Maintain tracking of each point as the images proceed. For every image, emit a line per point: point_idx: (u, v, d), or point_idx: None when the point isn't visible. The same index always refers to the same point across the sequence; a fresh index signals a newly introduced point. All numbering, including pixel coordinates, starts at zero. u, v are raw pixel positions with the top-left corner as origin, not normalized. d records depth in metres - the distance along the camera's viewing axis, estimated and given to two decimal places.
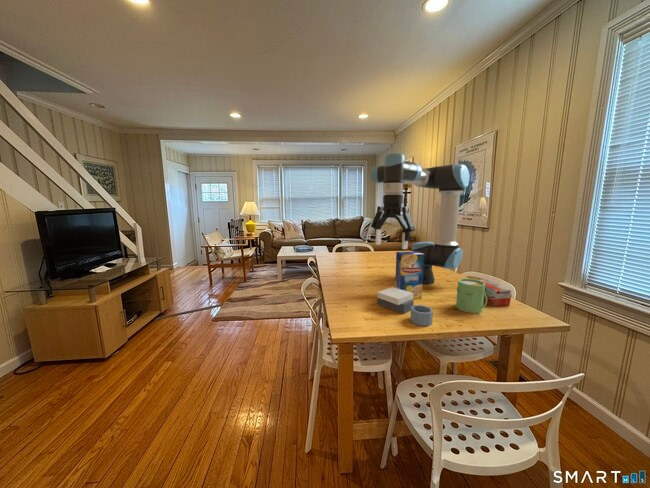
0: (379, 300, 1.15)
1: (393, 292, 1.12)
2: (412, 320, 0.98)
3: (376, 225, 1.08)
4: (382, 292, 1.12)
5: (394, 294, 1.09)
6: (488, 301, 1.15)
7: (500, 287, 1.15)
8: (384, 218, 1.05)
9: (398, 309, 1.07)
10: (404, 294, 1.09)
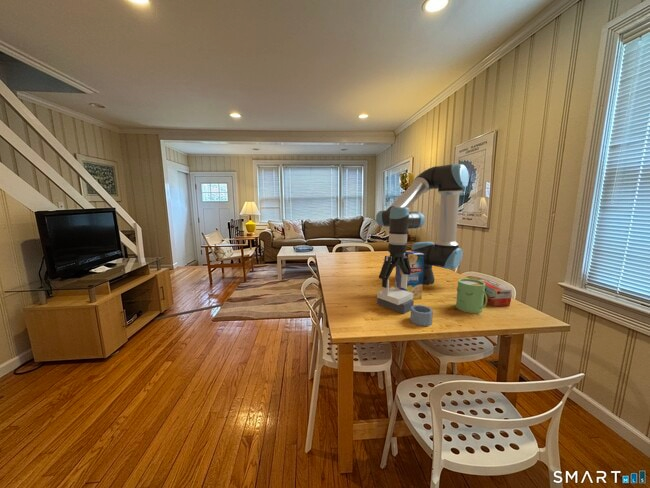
0: (379, 300, 1.15)
1: (393, 292, 1.12)
2: (412, 320, 0.98)
3: None
4: None
5: (394, 294, 1.09)
6: (488, 301, 1.15)
7: (500, 287, 1.15)
8: (399, 264, 1.12)
9: (398, 309, 1.07)
10: (404, 294, 1.09)
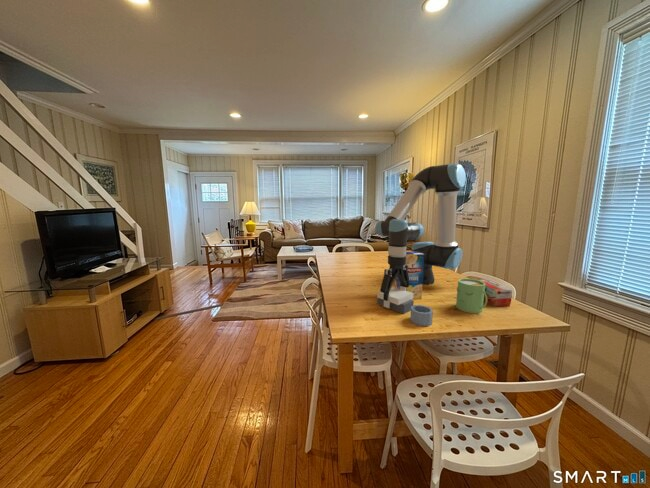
0: (379, 300, 1.15)
1: (393, 292, 1.12)
2: (412, 320, 0.98)
3: None
4: (382, 292, 1.12)
5: (394, 294, 1.09)
6: (489, 301, 1.15)
7: (501, 287, 1.15)
8: (398, 276, 1.13)
9: (398, 309, 1.07)
10: (404, 294, 1.09)
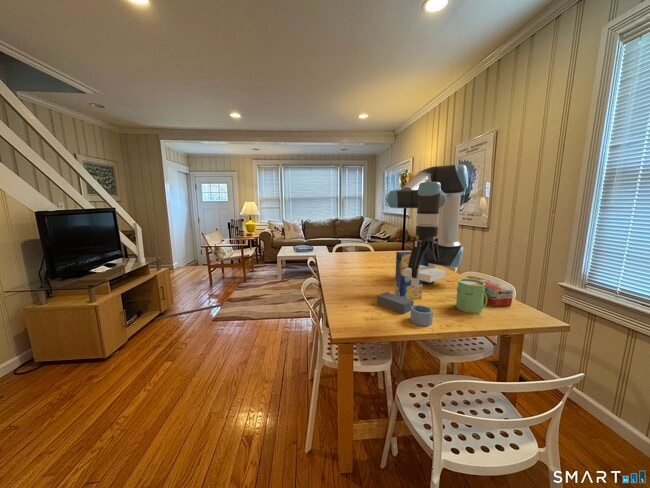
0: (379, 300, 1.15)
1: (422, 269, 0.95)
2: (412, 320, 0.98)
3: None
4: (409, 269, 0.96)
5: (424, 271, 0.93)
6: (489, 301, 1.15)
7: (501, 287, 1.14)
8: (427, 250, 0.97)
9: (398, 309, 1.07)
10: (435, 271, 0.93)
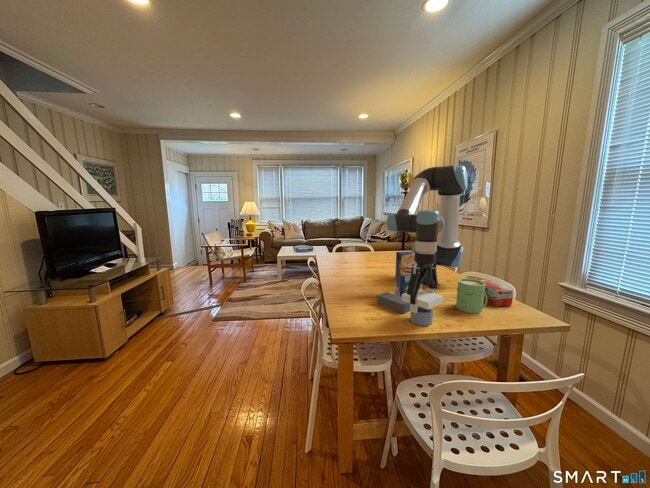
0: (379, 300, 1.15)
1: (420, 295, 0.97)
2: (412, 320, 0.98)
3: None
4: (407, 294, 0.97)
5: (422, 297, 0.95)
6: (490, 301, 1.15)
7: (502, 287, 1.14)
8: (426, 276, 0.98)
9: (398, 309, 1.07)
10: (434, 297, 0.94)
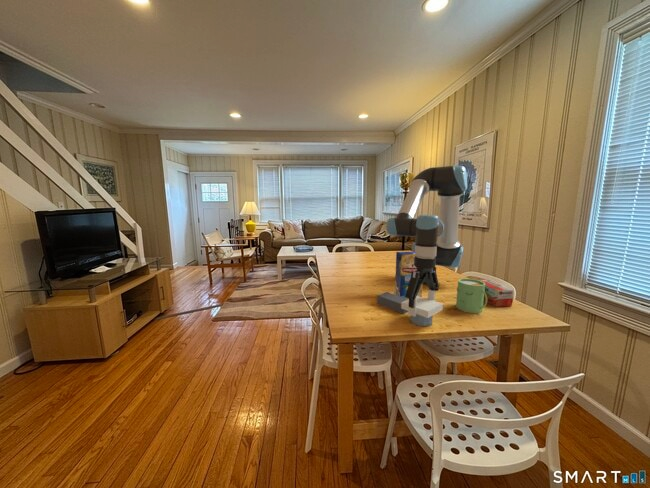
0: (379, 300, 1.15)
1: (420, 303, 0.98)
2: (412, 320, 0.98)
3: None
4: (407, 302, 0.98)
5: (422, 305, 0.95)
6: (490, 301, 1.15)
7: (502, 287, 1.14)
8: None
9: (398, 309, 1.07)
10: (433, 305, 0.95)
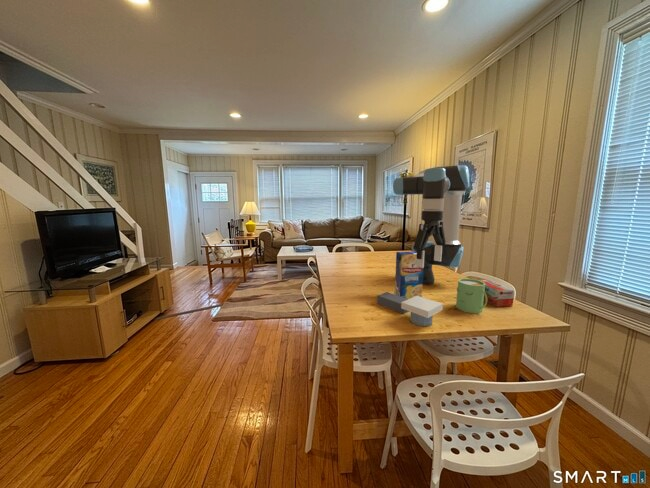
0: (379, 300, 1.15)
1: (420, 303, 0.98)
2: (412, 320, 0.98)
3: None
4: (407, 302, 0.98)
5: (422, 305, 0.95)
6: (491, 302, 1.15)
7: (503, 287, 1.14)
8: (433, 234, 1.01)
9: (398, 309, 1.07)
10: (433, 305, 0.95)
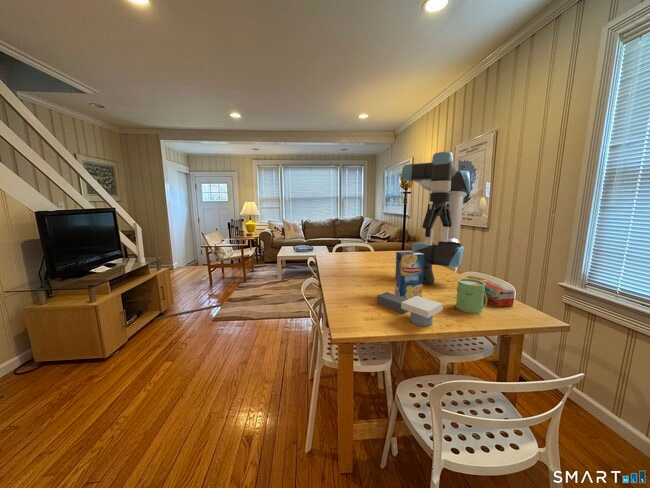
0: (379, 300, 1.15)
1: (420, 303, 0.98)
2: (412, 320, 0.98)
3: None
4: (407, 302, 0.98)
5: (422, 305, 0.95)
6: (491, 302, 1.15)
7: (503, 287, 1.14)
8: (440, 215, 1.08)
9: (398, 309, 1.07)
10: (433, 305, 0.95)
